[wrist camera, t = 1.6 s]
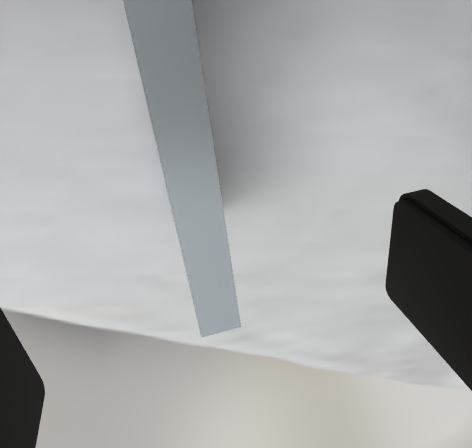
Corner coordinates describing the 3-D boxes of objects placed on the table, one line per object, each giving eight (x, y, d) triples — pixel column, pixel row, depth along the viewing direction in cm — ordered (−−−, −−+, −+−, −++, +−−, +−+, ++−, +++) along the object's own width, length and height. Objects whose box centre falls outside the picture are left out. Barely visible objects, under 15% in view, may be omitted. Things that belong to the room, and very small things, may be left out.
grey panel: (102, -96, 19) (85, -165, 10) (144, -100, 19) (166, -172, 10) (176, 223, 29) (201, 337, 20) (203, 217, 29) (240, 326, 20)
